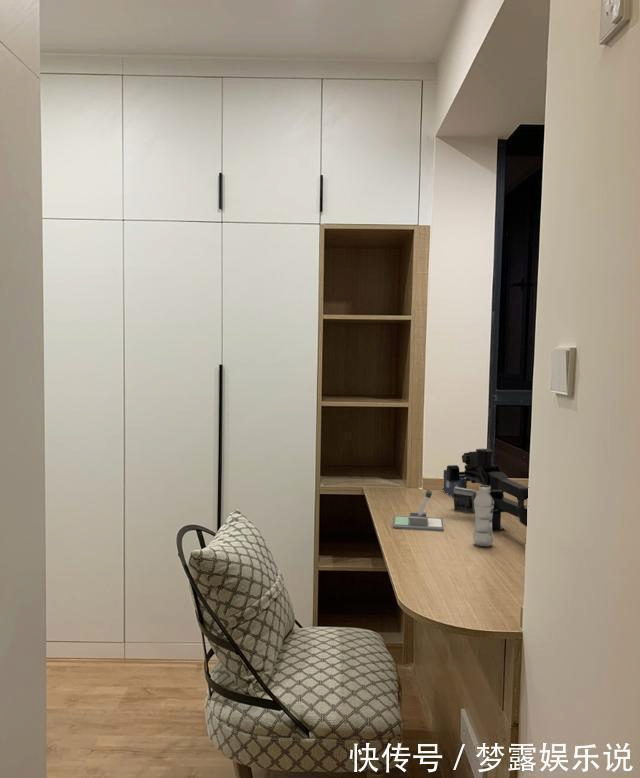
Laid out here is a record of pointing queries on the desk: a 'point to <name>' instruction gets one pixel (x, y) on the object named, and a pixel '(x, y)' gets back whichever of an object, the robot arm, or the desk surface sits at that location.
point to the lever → (424, 502)
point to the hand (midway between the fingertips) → (458, 469)
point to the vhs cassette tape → (453, 484)
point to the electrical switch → (464, 499)
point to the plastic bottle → (483, 517)
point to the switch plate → (418, 522)
